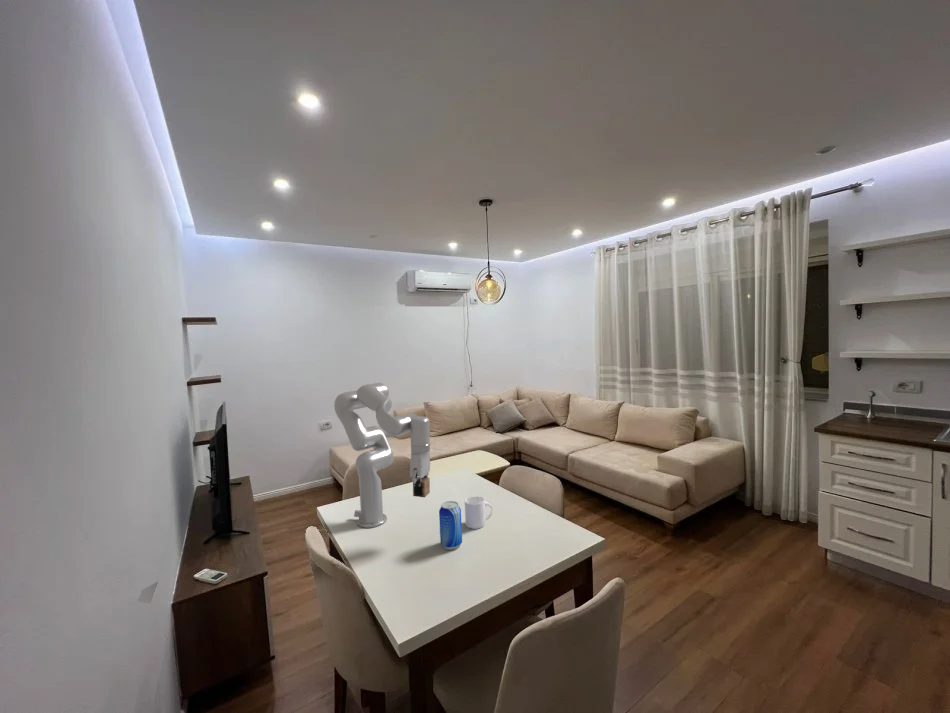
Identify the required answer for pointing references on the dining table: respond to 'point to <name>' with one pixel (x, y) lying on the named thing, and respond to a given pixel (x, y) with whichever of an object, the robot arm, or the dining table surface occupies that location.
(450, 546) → the beer can
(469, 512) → the mug
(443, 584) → the dining table surface
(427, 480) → the walnut block
